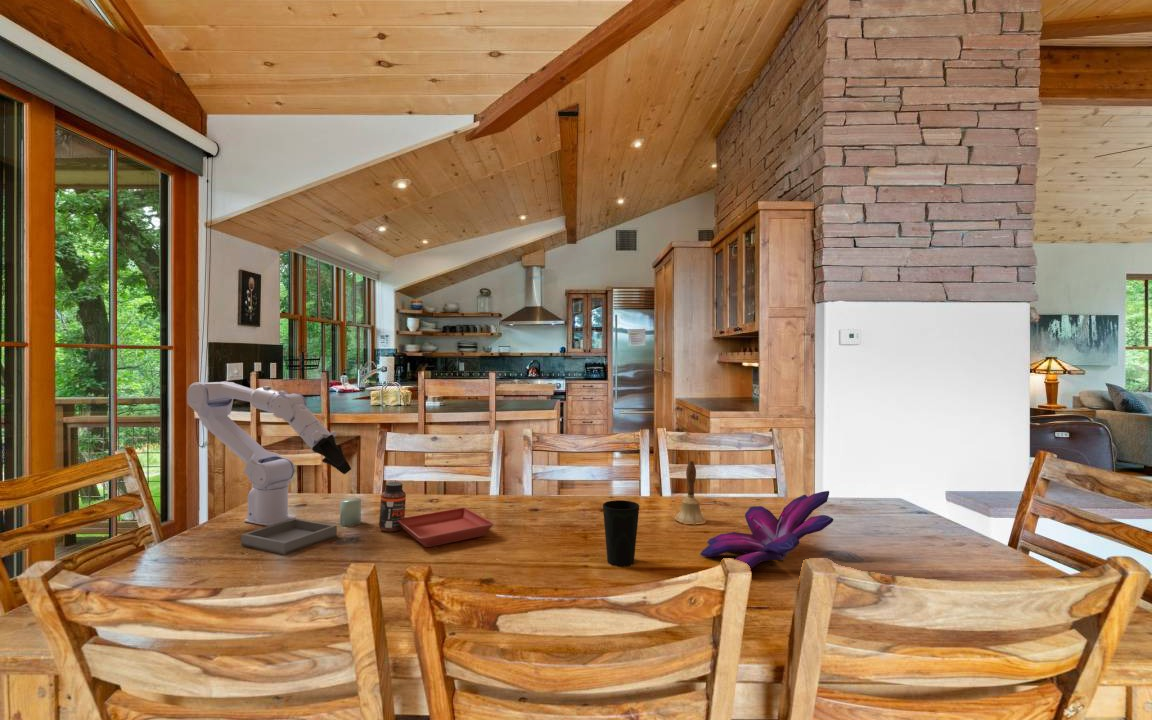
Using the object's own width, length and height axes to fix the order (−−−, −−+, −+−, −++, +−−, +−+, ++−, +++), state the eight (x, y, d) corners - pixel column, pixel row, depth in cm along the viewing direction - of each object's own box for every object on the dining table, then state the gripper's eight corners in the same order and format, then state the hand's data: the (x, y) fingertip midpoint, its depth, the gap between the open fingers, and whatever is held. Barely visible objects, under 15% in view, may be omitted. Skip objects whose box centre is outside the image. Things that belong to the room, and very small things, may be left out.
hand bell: (713, 522, 144) (713, 461, 144) (690, 527, 140) (691, 464, 140) (689, 514, 151) (690, 457, 151) (667, 519, 146) (668, 459, 146)
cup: (600, 555, 119) (600, 500, 119) (635, 554, 119) (635, 499, 119) (605, 569, 111) (605, 510, 111) (642, 568, 112) (642, 509, 112)
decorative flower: (735, 620, 101) (711, 569, 102) (704, 569, 131) (686, 530, 132) (887, 550, 101) (862, 500, 102) (820, 516, 131) (801, 477, 132)
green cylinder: (335, 524, 140) (335, 501, 140) (350, 519, 144) (351, 496, 144) (350, 527, 137) (350, 503, 138) (365, 522, 142) (365, 498, 142)
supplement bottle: (393, 534, 132) (395, 487, 132) (373, 529, 135) (375, 484, 134) (409, 527, 138) (411, 482, 138) (390, 523, 140) (392, 479, 140)
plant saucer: (396, 531, 135) (395, 517, 135) (464, 518, 145) (464, 506, 145) (420, 553, 120) (420, 538, 120) (495, 537, 130) (494, 523, 130)
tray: (241, 545, 123) (241, 534, 123) (295, 528, 136) (295, 518, 136) (284, 554, 118) (284, 543, 118) (336, 536, 131) (336, 525, 131)
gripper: (317, 409, 135) (353, 448, 132) (330, 428, 148) (363, 464, 145) (292, 428, 132) (327, 468, 129) (307, 446, 145) (340, 482, 142)
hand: (344, 467), depth 137 cm, fingers open, 7 cm apart
